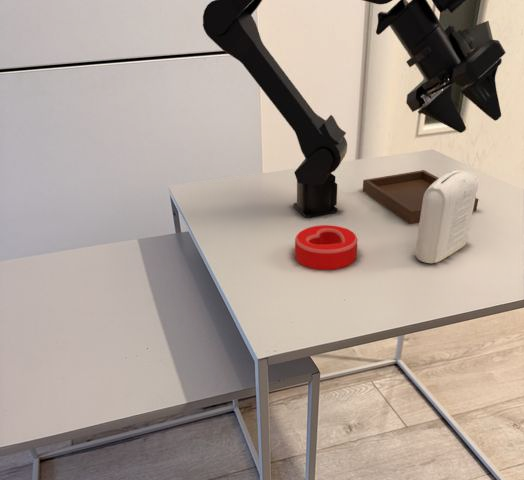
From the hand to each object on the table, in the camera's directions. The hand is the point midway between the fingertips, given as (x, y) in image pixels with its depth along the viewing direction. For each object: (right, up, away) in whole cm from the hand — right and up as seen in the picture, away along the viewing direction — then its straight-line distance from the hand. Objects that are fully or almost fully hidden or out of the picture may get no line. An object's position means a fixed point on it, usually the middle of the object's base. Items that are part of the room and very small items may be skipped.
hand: (480, 125), depth 84 cm
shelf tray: (-5, -7, +18) cm, 20 cm away
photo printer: (-6, -20, +1) cm, 21 cm away
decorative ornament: (-24, -20, +1) cm, 31 cm away
